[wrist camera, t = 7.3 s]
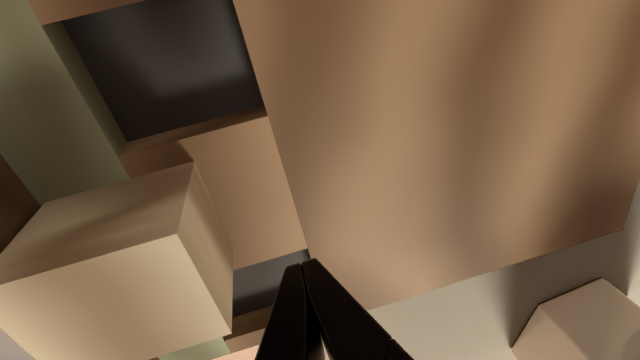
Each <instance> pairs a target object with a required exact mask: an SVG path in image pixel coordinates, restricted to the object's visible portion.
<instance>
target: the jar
mask: <svg viewBox="0 0 640 360" xmlns="http://www.w3.org/2000/svg"><path fill="white" fill-rule="evenodd" d="M512 353H513V354H514V356H515V357H516V358H517V360H640V307H639V306H638V305H637V304H635V303H634V302H633V301H632V300H630V299H629V298H628V297H627V296H626V295H624V294H623V293H622V292H621V291H619V290H618V289H617V288H616V287H615V286H613V285H612V284H611V283H610V282H608V281H607V280H606V279H602V278H601V279H598V280H595V281H593V282H591V283H588V284H586V285H584V286H582V287H579V288H577V289H575V290H572V291H570V292H568V293H565V294H563V295H561V296H558V297H556V298H554V299H551V300H549V301H547V302H544V303H542V304H540V305H538V307H537V308H536V310H535V312H534V313H533V315H532V317H531V318H530V320H529V322H528V323H527V325H526V326H525V328H524V330H523V331H522V333H521V334H520V336H519V338H518V339H517V341H516V342H515V344H514V346H513V347H512Z"/></svg>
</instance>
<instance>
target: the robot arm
mask: <svg viewBox="0 0 640 360" xmlns="http://www.w3.org/2000/svg"><path fill="white" fill-rule="evenodd" d="M321 337H322V338H321ZM322 340H323V342H322ZM323 343H324V346H325V348H326V351H327V354H328V356H329V359H330V360H414V359H413V358H412V357H411V356H410V355H409V354H408V353H407V352H406V351H405V350H404V349H403V348H402V347H401V346H400V345H399V344H398V343H397V342H396V341H395V340H394V339H392V337H391V336H390V335H389V334H388V333H387V332H386V331H385V330H384V329H383V327H382V326H381V325H380V324H379V323H378V322H377V321H376V320H375V319H374V318H373V317H372V316H371V315H370V314H369V313H368V312H367V311H366V310H365V309H364V308H363V307H362V306H361V304H360V303H359V302H358V301H357V300H356V299H355V298H354V297H353V296H352V295H351V294H350V293H349V292H348V291H347V290H346V289H345V288H344V287H343V286H342V285H341V284H340V283H339V281H338V280H337V279H336V278H335V277H334V276H333V275H332V274H331V273H330V272H329V271H328V270H327V269H326V268H325V267H324V266H323V265H322V264H321V263H320V262H319V261H318V260H317V259H316V258H312V259H309V260H305V261H303V262H302V265H301V263H295V264H292V265H289V266H287V267H286V268H285V270H284V273H283V276H282V279H281V282H280V285H279V288H278V291H277V294H276V297H275V300H274V303H273V306H272V309H271V312H270V315H269V319H268V322H267V325H266V328H265V331H264V334H263V337H262V340H261V343H260V346H259V349H258V352H257V355H256V358H255V360H325V355H324V348H323Z"/></svg>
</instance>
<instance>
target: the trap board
mask: <svg viewBox="0 0 640 360" xmlns="http://www.w3.org/2000/svg"><path fill="white" fill-rule="evenodd" d="M193 161H194V162H195V164H196V166H197V168H198V170H199V173H200V175H201V177H202V179H203V181H204V184H205V186H206V188H207V190H208V192H209V195H210V197H211V199H212V201H213V204H214V206H215V208H216V210H217V212H218V215H219V217H220V219H221V221H222V223H223V226H224V228H225V230H226V232H227V235H228V237H229V239H230V241H231V243H232V246H233V295H232V334H229V335H226V336H222V337H219V338H216V339H213V340H210V341H206V342H203V343H200V344H197V345H194V346H190V347H187V348H184V349H181V350H178V351H174V352H171V353H168V354H165V355H162V356H158V357H155V358H152V359H149V360H212V359H215V358H218V357H221V356H224V355H227V354H231V353H234V352H237V351H240V350H243V349H246V348H250V347H253V346H256V345H259V344H260V343H261V340H262V337H263V334H264V331H265V328H266V325H267V322H268V319H269V315H270V312H271V309H272V306H273V303H274V300H275V297H276V294H277V291H278V288H279V285H280V282H281V279H282V276H283V273H284V270H285V268H286V267H287V266H289V265H292V264H295V263H301V265H302V262H303V261H305V260H309V259H312V258H316V259H317V260H318V261H319V262H320V263H321V264H322V265H323V266H324V267H325V268H326V269H327V270H328V271H329V272H330V273H331V274H332V275H333V276H334V277H335V278H336V279H337V280H338V281H339V283H340V284H341V285H342V286H343V287H344V288H345V289H346V290H347V291H348V292H349V293H350V294H351V295H352V296H353V297H354V298H355V299H356V300H357V301H358V302H359V303H360V304H361V306H362V307H363V308H364V309H365V310H366V311H367V310H370V309H373V308H376V307H379V306H383V305H386V304H389V303H392V302H395V301H398V300H402V299H405V298H408V297H411V296H414V295H417V294H421V293H424V292H427V291H430V290H433V289H436V288H440V287H443V286H446V285H449V284H452V283H455V282H459V281H462V280H465V279H468V278H471V277H474V276H478V275H481V274H484V273H487V272H490V271H493V270H497V269H500V268H503V267H506V266H509V265H512V264H516V263H519V262H522V261H525V260H528V259H531V258H535V257H538V256H541V255H544V254H547V253H550V252H554V251H557V250H560V249H563V248H566V247H569V246H573V245H576V244H579V243H582V242H585V241H589V240H592V239H595V238H598V237H601V236H604V235H608V234H611V233H614V232H617V231H620V230H623V226H624V223H625V220H626V217H627V214H628V211H629V208H630V205H631V202H632V199H633V195H634V192H635V189H636V186H637V183H638V180H639V177H640V0H0V254H1V253H2V252H3V250H4V249H5V248H6V247H7V246H8V245H9V244H10V242H11V241H12V240H13V239H14V238H15V237H16V235H17V234H18V233H19V232H20V231H21V230H22V229H23V227H24V226H25V225H26V224H27V223H28V222H29V220H30V219H31V218H32V217H33V216H34V215H35V214H36V212H37V211H38V210H39V209H40V208H41V207H42V205H43V204H44V203H45V202H49V201H52V200H56V199H59V198H63V197H67V196H70V195H74V194H77V193H81V192H85V191H88V190H92V189H96V188H99V187H103V186H106V185H110V184H114V183H117V182H121V181H124V180H128V179H132V178H135V177H139V176H143V175H146V174H150V173H153V172H157V171H161V170H164V169H168V168H171V167H175V166H179V165H182V164H186V163H189V162H193Z"/></svg>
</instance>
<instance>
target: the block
mask: <svg viewBox="0 0 640 360" xmlns="http://www.w3.org/2000/svg"><path fill="white" fill-rule="evenodd" d="M232 295H233V246H232V243H231V241H230V239H229V237H228V235H227V232H226V230H225V228H224V226H223V223H222V221H221V219H220V217H219V215H218V212H217V210H216V208H215V206H214V204H213V201H212V199H211V197H210V195H209V192H208V190H207V188H206V186H205V184H204V181H203V179H202V177H201V175H200V173H199V170H198V168H197V166H196V164H195V162H194V161H193V162H189V163H186V164H182V165H179V166H175V167H171V168H168V169H164V170H161V171H157V172H153V173H150V174H146V175H143V176H139V177H135V178H132V179H128V180H124V181H121V182H117V183H114V184H110V185H106V186H103V187H99V188H96V189H92V190H88V191H85V192H81V193H77V194H74V195H70V196H67V197H63V198H59V199H56V200H52V201H49V202H45V203H44V204H43V205H42V207H41V208H40V209H39V210H38V211H37V212H36V214H35V215H34V216H33V217H32V218H31V219H30V220H29V222H28V223H27V224H26V225H25V226H24V227H23V229H22V230H21V231H20V232H19V233H18V234H17V235H16V237H15V238H14V239H13V240H12V241H11V242H10V244H9V245H8V246H7V247H6V248H5V249H4V250H3V252H2V253H1V254H0V328H1V329H3V330H4V331H5V332H6V333H7V334H8V335H9V336H10V337H11V338H12V339H14V340H15V341H16V342H17V343H18V344H19V345H20V346H21V347H22V348H23V349H25V350H26V351H27V352H28V353H29V354H30V355H31V356H32V357H33V358H34V359H36V360H149V359H152V358H155V357H158V356H162V355H165V354H168V353H171V352H174V351H178V350H181V349H184V348H187V347H190V346H194V345H197V344H200V343H203V342H206V341H210V340H213V339H216V338H219V337H222V336H226V335H229V334H232Z"/></svg>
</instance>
